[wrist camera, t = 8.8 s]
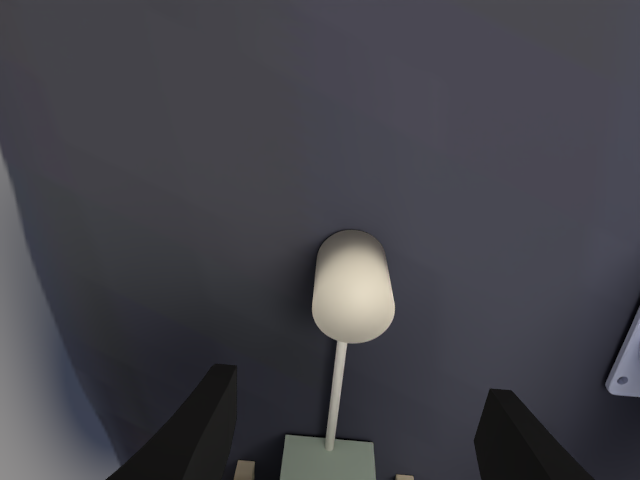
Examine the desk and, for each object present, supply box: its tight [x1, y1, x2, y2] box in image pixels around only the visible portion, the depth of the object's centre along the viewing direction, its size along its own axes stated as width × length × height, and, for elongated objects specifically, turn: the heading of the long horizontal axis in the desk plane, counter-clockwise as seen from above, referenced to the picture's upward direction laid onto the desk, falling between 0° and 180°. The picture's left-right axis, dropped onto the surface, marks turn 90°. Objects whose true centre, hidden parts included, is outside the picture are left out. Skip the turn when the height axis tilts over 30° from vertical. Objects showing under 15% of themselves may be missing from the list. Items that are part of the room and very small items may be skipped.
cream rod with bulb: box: [280, 230, 395, 480], centre depth 23 cm, size 18×5×5 cm, turn 175°
